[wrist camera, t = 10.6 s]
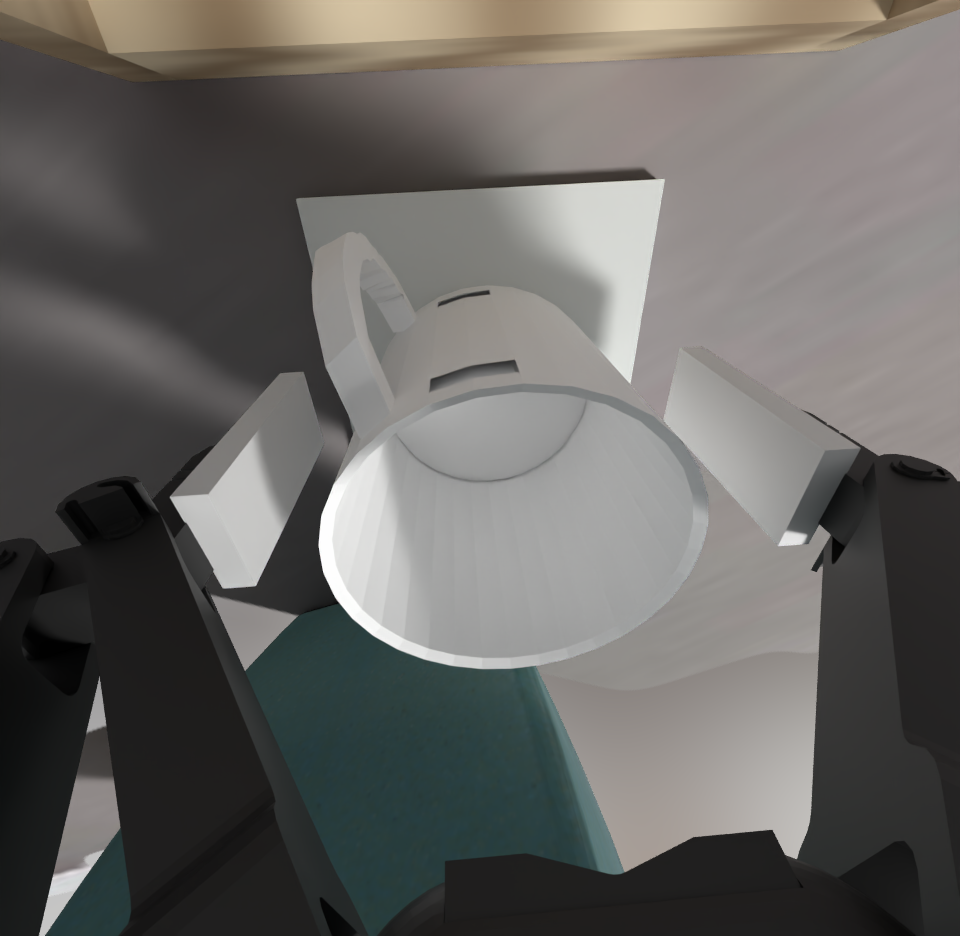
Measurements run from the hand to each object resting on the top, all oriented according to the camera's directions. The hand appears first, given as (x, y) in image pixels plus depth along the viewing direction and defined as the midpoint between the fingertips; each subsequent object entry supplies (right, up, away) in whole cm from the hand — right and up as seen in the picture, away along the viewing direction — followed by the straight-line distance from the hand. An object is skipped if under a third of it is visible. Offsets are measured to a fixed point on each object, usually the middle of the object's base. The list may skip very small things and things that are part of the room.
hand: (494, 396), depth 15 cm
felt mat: (0, +2, +3) cm, 4 cm away
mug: (-1, +2, +3) cm, 3 cm away
